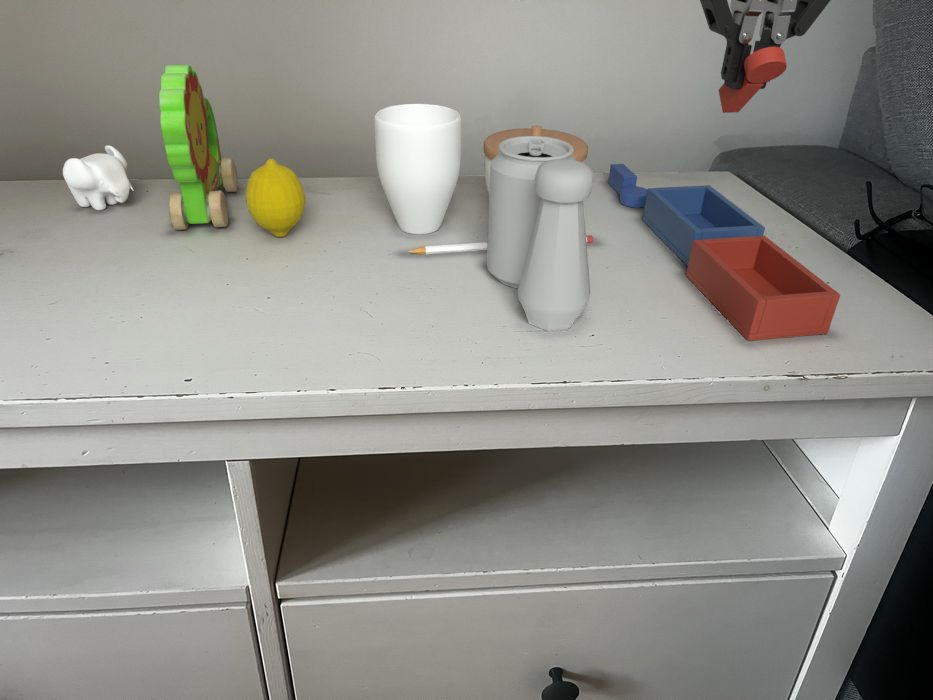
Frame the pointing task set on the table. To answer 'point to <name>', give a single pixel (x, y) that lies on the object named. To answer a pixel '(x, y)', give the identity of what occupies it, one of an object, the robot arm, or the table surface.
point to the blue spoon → (627, 186)
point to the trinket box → (495, 139)
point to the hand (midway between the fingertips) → (744, 86)
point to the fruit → (275, 198)
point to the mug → (418, 162)
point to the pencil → (462, 247)
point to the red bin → (761, 288)
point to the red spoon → (753, 77)
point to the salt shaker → (558, 247)
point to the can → (516, 201)
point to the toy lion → (193, 151)
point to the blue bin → (695, 217)
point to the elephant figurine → (98, 179)
